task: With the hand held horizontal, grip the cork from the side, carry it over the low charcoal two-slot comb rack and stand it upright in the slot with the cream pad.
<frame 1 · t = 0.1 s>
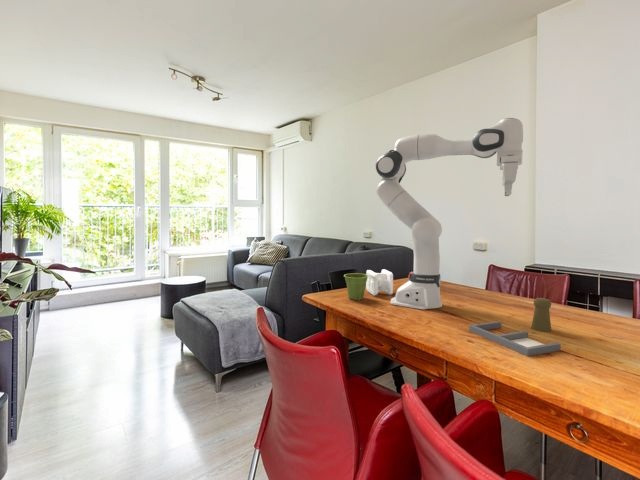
hand: (507, 195, 136), 48 cm above the table, tool pointing down, fingers open, 8 cm apart
plant pot: (355, 298, 164), on the table
comb rack: (512, 339, 110), on the table
cork: (541, 329, 120), on the table
cable organizer: (378, 294, 175), on the table
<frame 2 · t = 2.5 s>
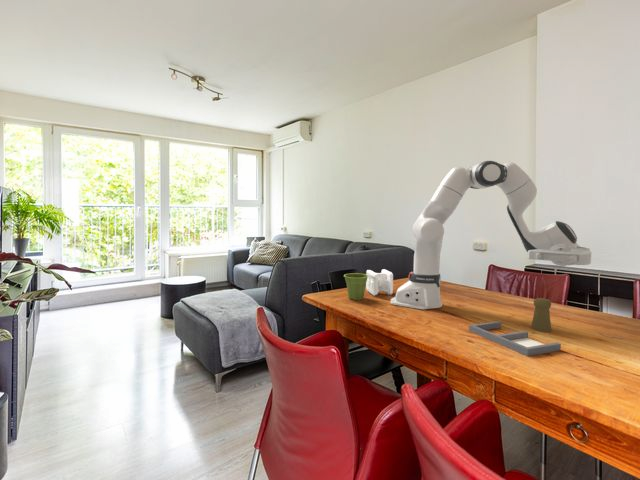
hand: (553, 257, 127), 24 cm above the table, tool horizontal, fingers open, 8 cm apart
nothing on the table moved.
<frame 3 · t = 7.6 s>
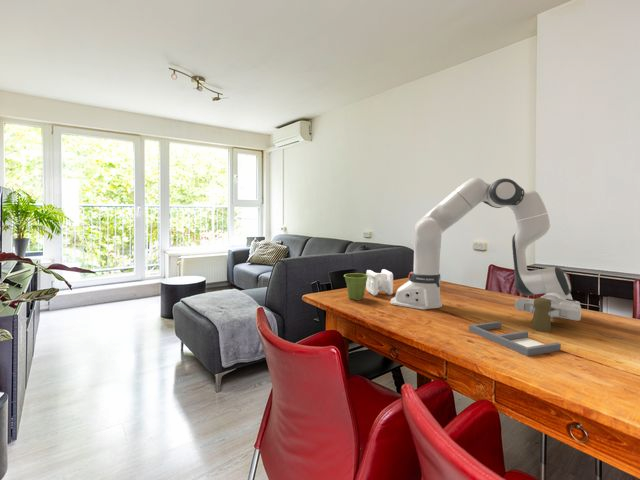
hand: (541, 312, 119), 6 cm above the table, tool horizontal, fingers closed on cork, 4 cm apart
cork: (541, 329, 120), on the table, touching gripper
everything else where it was.
when the fingers open (7 cm above the table, at t = 13.5 s): cork stays where it is, resting on comb rack.
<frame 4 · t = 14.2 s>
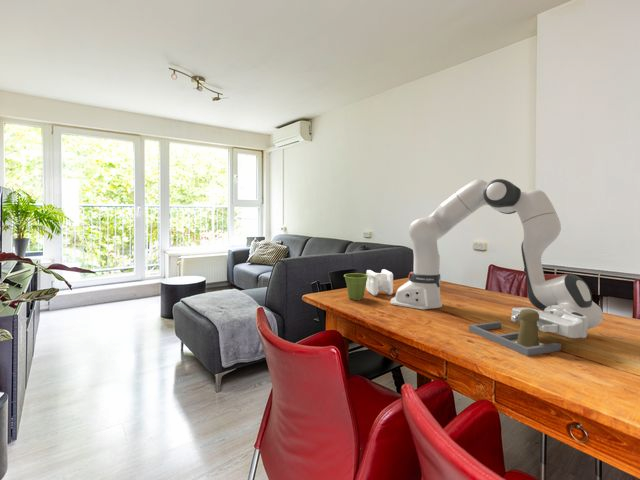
hand: (526, 323, 104), 7 cm above the table, tool horizontal, fingers open, 8 cm apart
cork: (527, 345, 105), resting on comb rack
everything else where it was.
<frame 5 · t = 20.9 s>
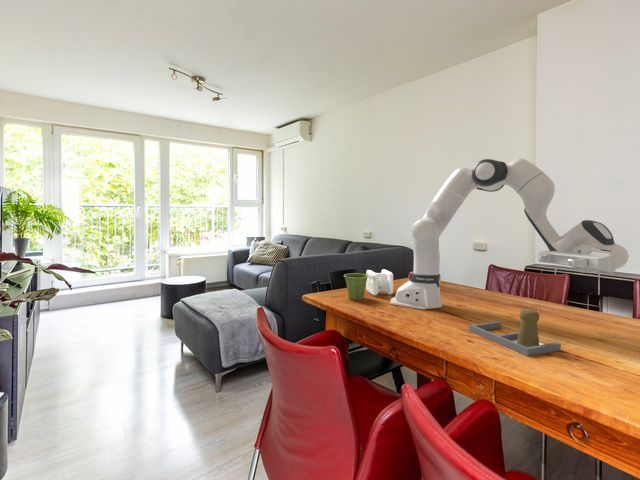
hand: (555, 260, 106), 26 cm above the table, tool horizontal, fingers open, 8 cm apart
nothing on the table moved.
at the end: cork 0.2 cm from the target spot, resting on comb rack; cork tilted 0°; the gripper is holding nothing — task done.
